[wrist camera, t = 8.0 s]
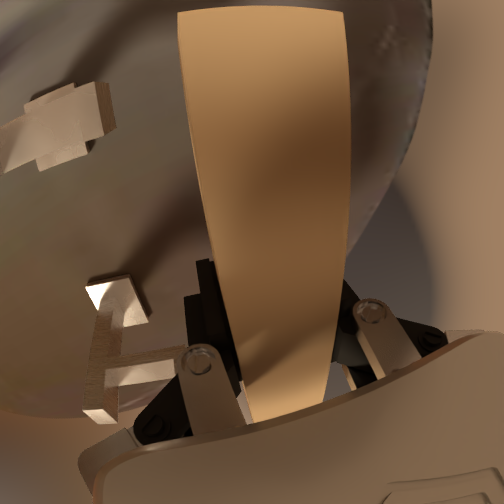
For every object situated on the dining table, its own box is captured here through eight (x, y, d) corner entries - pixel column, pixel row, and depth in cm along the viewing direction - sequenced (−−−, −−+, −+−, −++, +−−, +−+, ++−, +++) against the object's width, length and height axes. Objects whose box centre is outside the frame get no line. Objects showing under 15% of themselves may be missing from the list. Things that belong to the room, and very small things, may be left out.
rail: (177, 42, 6) (177, 12, 3) (287, 34, 6) (342, 12, 4) (249, 411, 15) (262, 453, 13) (296, 398, 16) (313, 438, 13)
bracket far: (87, 283, 21) (59, 398, 12) (173, 263, 22) (183, 384, 13) (109, 324, 24) (100, 433, 14) (188, 309, 25) (206, 421, 16)
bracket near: (27, 104, 12) (-83, 137, 3) (130, 65, 14) (72, 33, 5) (42, 169, 15) (-48, 250, 6) (142, 136, 16) (102, 193, 7)
